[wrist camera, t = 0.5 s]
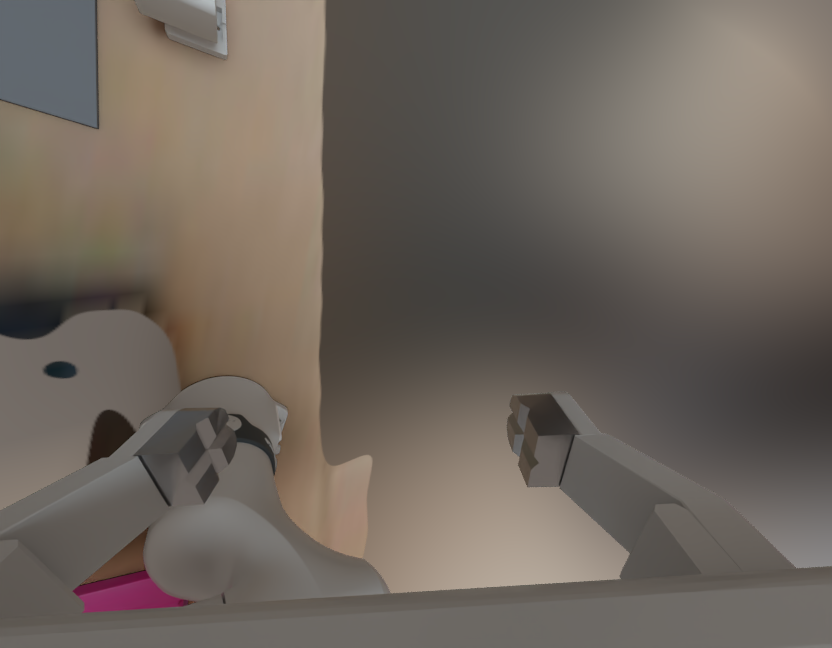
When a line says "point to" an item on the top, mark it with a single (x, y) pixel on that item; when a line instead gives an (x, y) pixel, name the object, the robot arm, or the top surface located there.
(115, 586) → the file sorter
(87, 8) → the desk pad
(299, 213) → the top surface
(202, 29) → the security camera
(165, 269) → the top surface
